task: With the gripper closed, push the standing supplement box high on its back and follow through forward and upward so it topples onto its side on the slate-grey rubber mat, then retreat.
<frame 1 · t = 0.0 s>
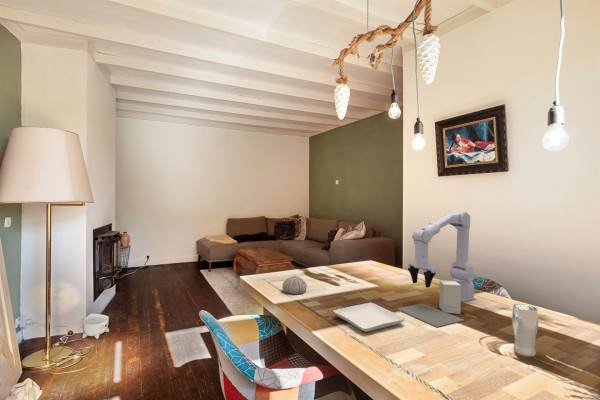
hand: (421, 285, 147), 10 cm above the table, fingers open, 7 cm apart
beer glass: (524, 352, 105), on the table
supplement box: (449, 310, 143), on the table
sea urchin shell: (294, 292, 170), on the table
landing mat: (428, 315, 137), on the table
salad plate: (367, 322, 130), on the table
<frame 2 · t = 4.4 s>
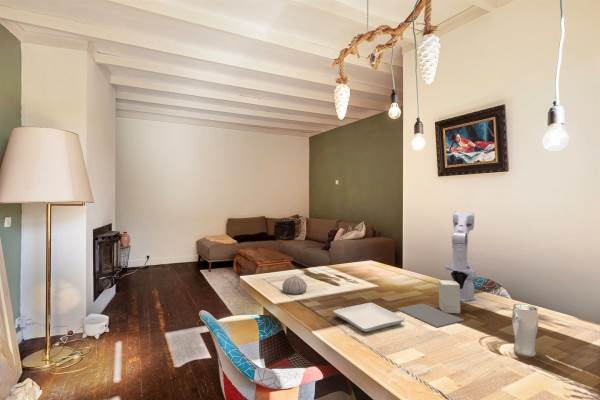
hand: (459, 288, 145), 9 cm above the table, fingers closed
supplement box: (449, 310, 143), on the table, touching gripper
everything else where it was.
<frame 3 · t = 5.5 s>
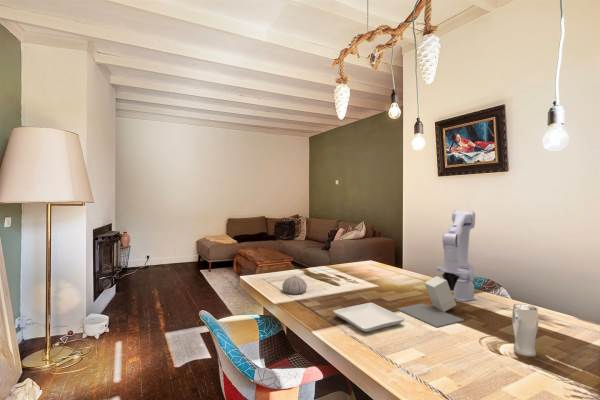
hand: (450, 290, 143), 9 cm above the table, fingers closed
supplement box: (444, 306, 144), point 1 cm above the table, touching gripper, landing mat
everything else where it was.
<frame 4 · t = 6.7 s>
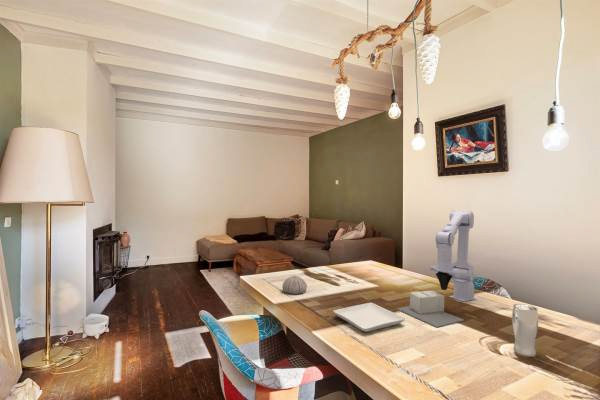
hand: (444, 289, 141), 10 cm above the table, fingers closed
supplement box: (439, 300, 144), point 4 cm above the table, touching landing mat
everything else where it was.
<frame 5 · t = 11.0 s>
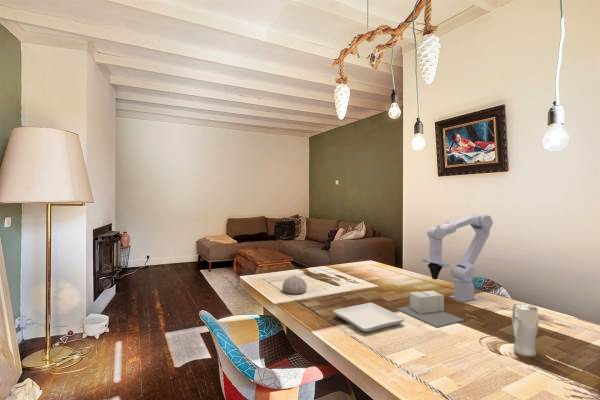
hand: (434, 279, 157), 10 cm above the table, fingers closed
nothing on the table moved.
at the end: supplement box tilted 90°; supplement box touching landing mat; the gripper is holding nothing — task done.
